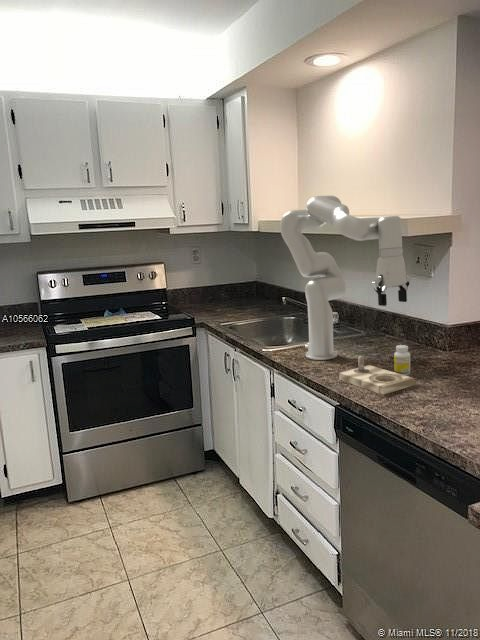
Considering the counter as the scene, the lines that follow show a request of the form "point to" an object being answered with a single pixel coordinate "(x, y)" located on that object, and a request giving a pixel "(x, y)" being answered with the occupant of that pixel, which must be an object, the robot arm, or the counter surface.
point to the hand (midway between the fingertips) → (392, 303)
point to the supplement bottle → (402, 360)
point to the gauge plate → (375, 378)
